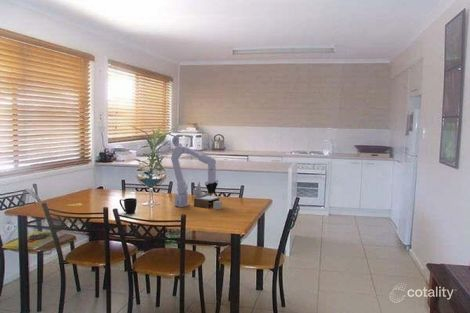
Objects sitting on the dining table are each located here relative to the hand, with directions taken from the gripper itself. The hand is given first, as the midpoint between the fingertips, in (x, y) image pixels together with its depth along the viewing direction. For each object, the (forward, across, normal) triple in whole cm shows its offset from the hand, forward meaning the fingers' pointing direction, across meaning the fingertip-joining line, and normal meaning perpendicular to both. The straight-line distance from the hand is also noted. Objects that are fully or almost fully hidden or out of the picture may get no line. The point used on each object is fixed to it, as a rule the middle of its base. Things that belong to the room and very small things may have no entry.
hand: (211, 193), depth 298 cm
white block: (+10, -5, -8) cm, 14 cm away
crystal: (+10, +14, +19) cm, 26 cm away
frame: (+9, 0, +4) cm, 10 cm away
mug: (+10, -50, +34) cm, 61 cm away
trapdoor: (+4, 0, +4) cm, 6 cm away
